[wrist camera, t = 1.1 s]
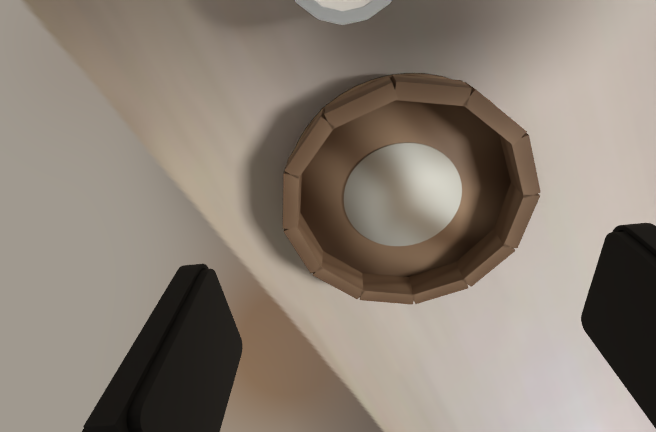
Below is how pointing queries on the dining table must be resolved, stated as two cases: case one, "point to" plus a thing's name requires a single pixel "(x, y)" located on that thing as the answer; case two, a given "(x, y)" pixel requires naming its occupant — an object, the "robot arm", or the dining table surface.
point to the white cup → (343, 9)
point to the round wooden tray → (408, 189)
